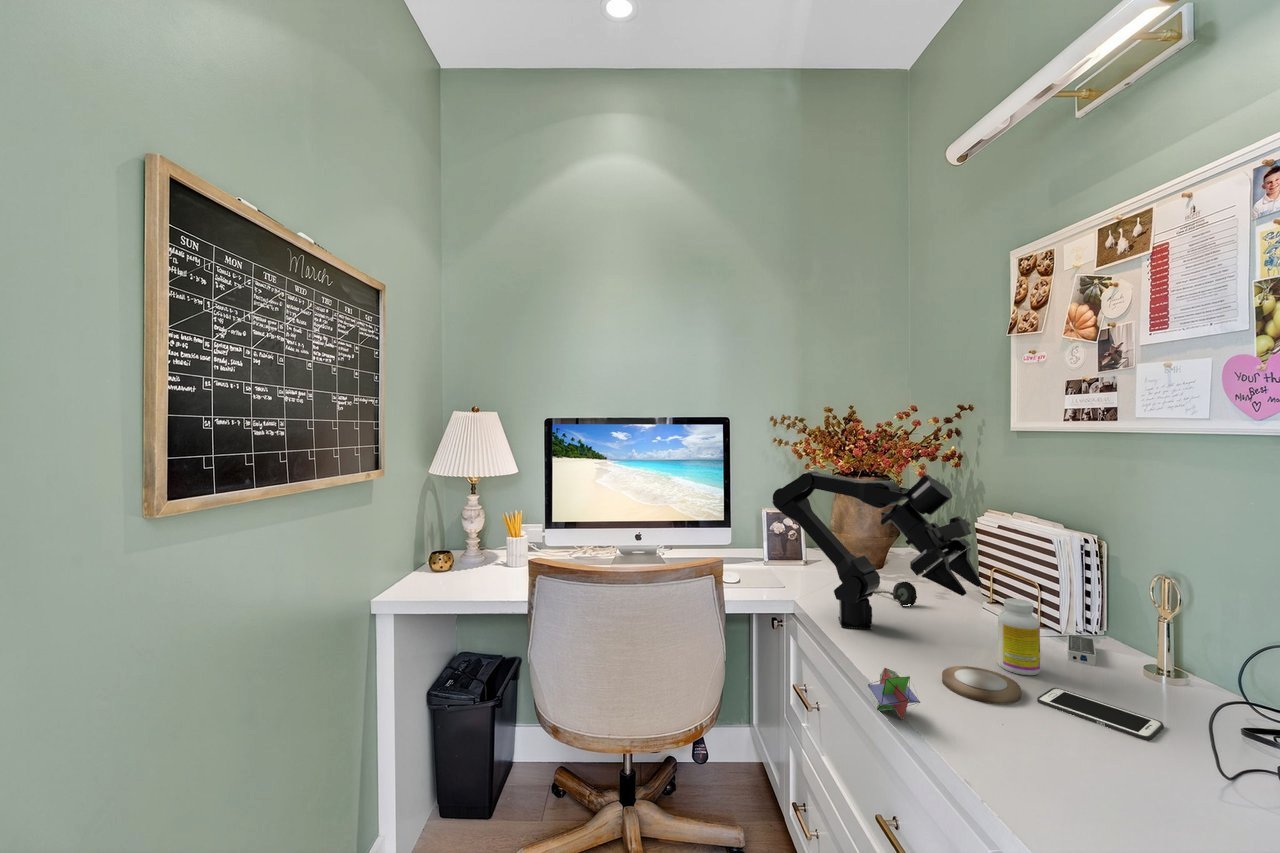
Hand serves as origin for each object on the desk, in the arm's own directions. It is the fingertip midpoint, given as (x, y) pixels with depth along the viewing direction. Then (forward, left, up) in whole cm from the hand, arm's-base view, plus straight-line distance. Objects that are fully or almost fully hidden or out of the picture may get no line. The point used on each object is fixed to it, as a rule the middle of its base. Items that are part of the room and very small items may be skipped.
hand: (972, 590), depth 113 cm
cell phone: (+11, -21, -14) cm, 27 cm away
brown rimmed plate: (-4, -15, -13) cm, 20 cm away
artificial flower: (-12, +40, -14) cm, 44 cm away
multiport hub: (+22, +6, -14) cm, 27 cm away
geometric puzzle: (-21, -28, -14) cm, 37 cm away
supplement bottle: (+6, -4, -14) cm, 16 cm away
